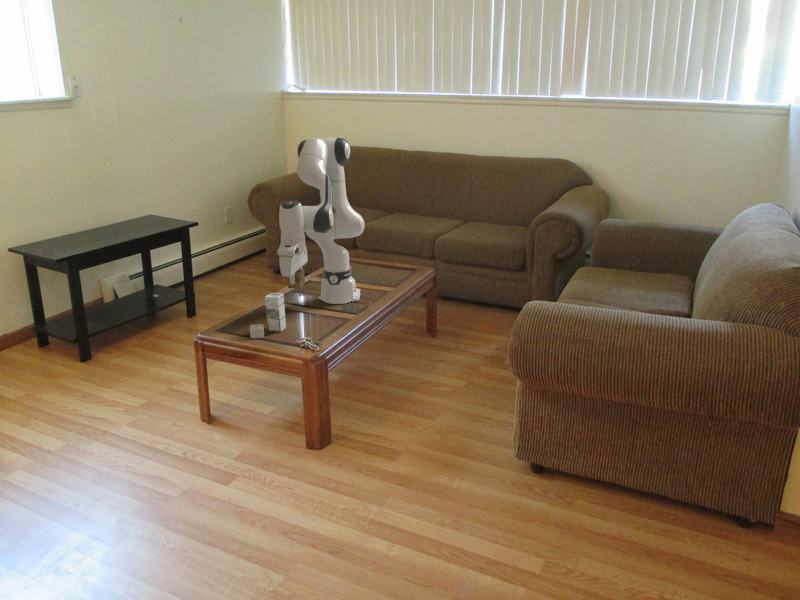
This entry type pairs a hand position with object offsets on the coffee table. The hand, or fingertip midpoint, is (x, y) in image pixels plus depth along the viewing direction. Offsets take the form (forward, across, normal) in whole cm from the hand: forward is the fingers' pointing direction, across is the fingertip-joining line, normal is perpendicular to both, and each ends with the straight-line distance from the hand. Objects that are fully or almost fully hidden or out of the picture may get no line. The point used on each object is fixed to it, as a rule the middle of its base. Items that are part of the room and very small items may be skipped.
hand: (296, 280), depth 257 cm
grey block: (+23, +2, -17) cm, 28 cm away
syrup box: (+23, -6, -12) cm, 27 cm away
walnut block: (+2, 0, 0) cm, 2 cm away
